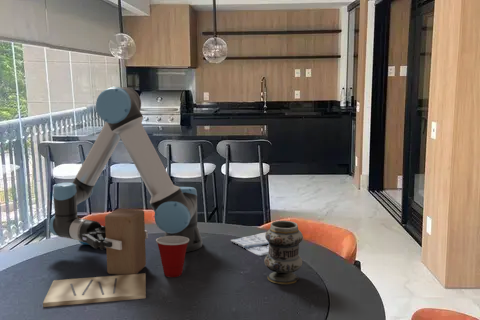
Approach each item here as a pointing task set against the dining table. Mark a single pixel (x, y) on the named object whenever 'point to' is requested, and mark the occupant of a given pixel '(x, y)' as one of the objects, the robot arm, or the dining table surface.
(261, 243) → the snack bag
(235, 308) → the dining table surface
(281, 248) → the apothecary jar
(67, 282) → the board
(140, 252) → the wooden block
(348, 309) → the dining table surface
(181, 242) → the plastic cup
